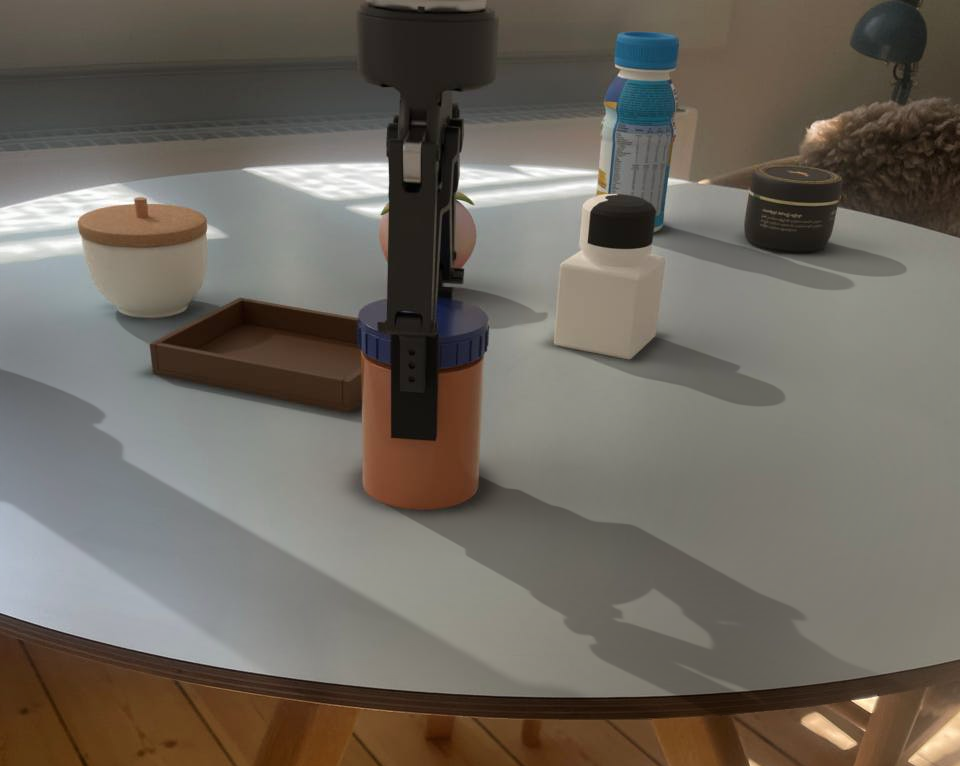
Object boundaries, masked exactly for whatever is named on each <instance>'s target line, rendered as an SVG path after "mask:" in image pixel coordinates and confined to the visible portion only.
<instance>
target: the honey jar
mask: <svg viewBox="0 0 960 766" xmlns="http://www.w3.org/2000/svg"><path fill="white" fill-rule="evenodd" d="M484 370H485V354H484V355H483V356H482V357H480V358H479V359H477V360H475V361H473V362H470V363H467V364H463V365H459V366H455V367H446V368H438V413H437V438H436V441H427V440H412V439H398V438H391V364H387V363H383V362H379V361H377V360H375V359H372V358H370V357H369V356H367V355H365V354H364V353H363V352H362V351H361V395H362V405H361V455H362V456H361V461H362V462H361V463H362V469H361V470H362V487H363V489H364V491H365V492H366V493H367V494H368V495H369V496H370V497H371V498H372V499H374V500H376V501H378V502H380V503H382V504H385V505H389V506H392V507H395V508H401V509H406V510H407V509H408V510H419V511H421V510H422V511H424V510H425V511H426V510H427V511H429V510H439V509H445V508H449V507H450V508H451V507H453V506H458V505H460V504H463V503H465V502H466V501H468V500H470V499H471V498H472V497H473V496H475V494H476V493H477V491H478V489H479V480H480V479H479V477H480V476H479V475H480V458H481V436H482V435H481V434H482V416H483V413H482V412H483V393H484V373H485V371H484Z"/></svg>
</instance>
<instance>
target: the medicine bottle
mask: <svg viewBox="0 0 960 766" xmlns="http://www.w3.org/2000/svg"><path fill="white" fill-rule="evenodd" d="M655 217H656V209H655V208H654V206H653V205H652V204H651V203H649V202H648V201H646V200H644V199H642V198H640V197H636V196H631V195H624V194H603V195H598V196H596V195H595V196H593V197H591V198H588V199H587V200H586V201H585V202H584V203H583V204H582V210H581V220H580V231H579V232H580V233H579V242H578V248H579V249H580V250H579V251H578V252H576V253H574V254H573V255H572V256H570V257H568V258H567V259H565V260H564V261H562V262H561V263H560V265H559V273H558V286H557V297H556V299H557V300H556V310H555V311H556V312H555V324H554V334H553V335H554V336H553V343H554V345H555V346H557V347H561V348H562V347H563V348H567V349H572V350H577V351H582V352H586V353H592V354H597V355H601V356H602V355H603V356H608V357H612V358H618V359H623V360H632V359H633V358H634V357H635V356H636V355H637V354H638V353H639V352H640V351H642V350H643V348H644V347H646V346H647V345H648V344H649V343H650V342H651V341H652V340H653V339H654V338H655V337H656V335H657V328H658V320H659V312H660V307H661V306H660V305H661V297H662V292H663V291H662V289H663V283H664V282H663V281H664V275H665V268H666V258H665V257H664V256H663V255H658V254H653V253H652V247H653V239H654V233H655V232H654V225H655Z"/></svg>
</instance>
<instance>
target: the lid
mask: <svg viewBox="0 0 960 766" xmlns="http://www.w3.org/2000/svg"><path fill="white" fill-rule="evenodd" d="M402 312H409V313H418V312H410V311H402ZM357 318H358V322H357V343H359V349H361V351H362V352H363V353H364V354H365V355H367V356H369V357H370V358H372V359H375V360H377V361H379V362H383V363H387V364H391V335H388V334H378V327H377V324H378V322H385V318H387V298H384V299H380V300H379V299H377V300H375V301H372V302H370V303H367V304H365V305H364V306H362V307H361V308H360V309H359V311H358V314H357ZM436 322H438V330H437V331H439V368H446V367H455V366H459V365H463V364H467V363H470V362H473V361H475V360H477V359H479V358H480V357H482V356H483V355H484V356H485V354H486V353H487V352H488V347H489V341H490V339H489V337H490V324H489V316H488V314H487V313H486V311H484V310H483V309H482V308H480V307H478V306H477V305H475V304H472V303H469V302H467V301H463V300H459V299H455V298H453V299H449V298H443V297H437V312H436Z"/></svg>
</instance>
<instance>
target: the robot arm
mask: <svg viewBox="0 0 960 766" xmlns="http://www.w3.org/2000/svg"><path fill="white" fill-rule="evenodd" d="M487 1H488V0H366V2H363V3H361V4H360V5H359V7H360V8H359V9H357V10H356V52H357V53H356V62H357V63H356V65H357V67H356V68H357V73H358V75H359V77H360V78H361V80H363V81H364V82H366V83H368V84H370V85H372V86H376V87H378V88H379V87H380V88H392V89H395V90H396V91H397V92H398V93H399V103H398V114H394V115H393V117H392V118H393V119H392V122H388V123H387V126H386V139H385V140H386V141H385V151H386V153H385V154H386V155H385V156H386V157H387V159H388V160H387V163H388V166H387V167H388V190H387V192H388V193H387V195H388V197H387V198H388V202H389V223H388V263H387V276H386V278H387V279H386V284H387V285H386V299H387V318H385V322H378V324H377V327H378V334H388V335H391V438H398V439H412V440H427V441H436V438H437V413H438V368H439V331H437V330H438V322H436V312H437V297H443V298H449V299H454V298H453V297H454V287H453V286H445V284H448V285H449V284H450V285H451V284H452V285H464V280H465V268H464V267H462V268H453V266H454V262H455V261H456V260H457V252H456V251H455V226H456V191H458V189H459V182H460V176H461V158H460V156H461V153H462V149H463V144H464V140H465V139H464V138H465V120H464V118H461V109H460V108H459V102H455V101H453V92H459V93H461V92H463V93H464V92H472V91H478V90H483V89H486V88H487V87H489V86H491V85H492V84H493V83H494V81H495V80H496V78H497V65H498V45H499V44H498V43H499V42H498V41H499V21H500V20H499V19H500V18H499V16H498V15H497V14H496V10H495V9H494V8H492V7H488V6H487ZM452 265H453V266H452ZM402 311H410V312H418V313H409V312H402Z"/></svg>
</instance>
